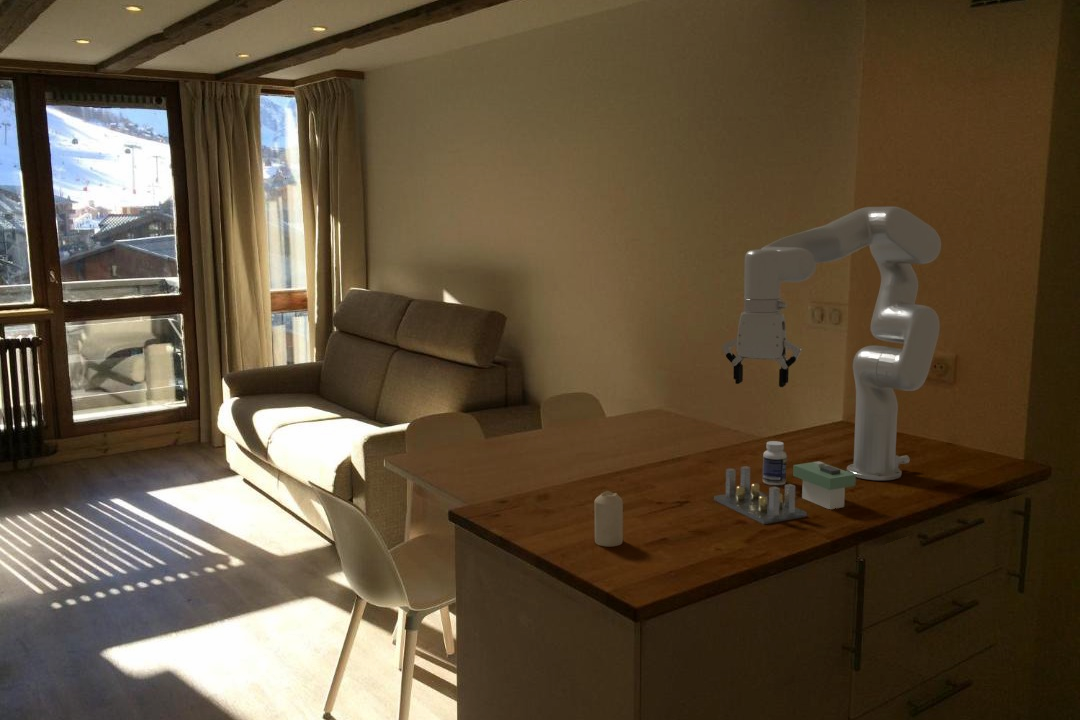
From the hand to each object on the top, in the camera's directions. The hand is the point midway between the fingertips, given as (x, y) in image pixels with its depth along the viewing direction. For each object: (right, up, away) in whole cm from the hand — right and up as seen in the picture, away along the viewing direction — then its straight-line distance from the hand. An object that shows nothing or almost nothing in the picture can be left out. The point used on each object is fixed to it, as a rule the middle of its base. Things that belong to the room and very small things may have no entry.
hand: (760, 384), depth 197 cm
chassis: (-1, -27, -1) cm, 27 cm away
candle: (-35, -31, -20) cm, 51 cm away
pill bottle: (+8, -24, +18) cm, 31 cm away
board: (+14, -21, +1) cm, 26 cm away
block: (+14, -26, +2) cm, 30 cm away
